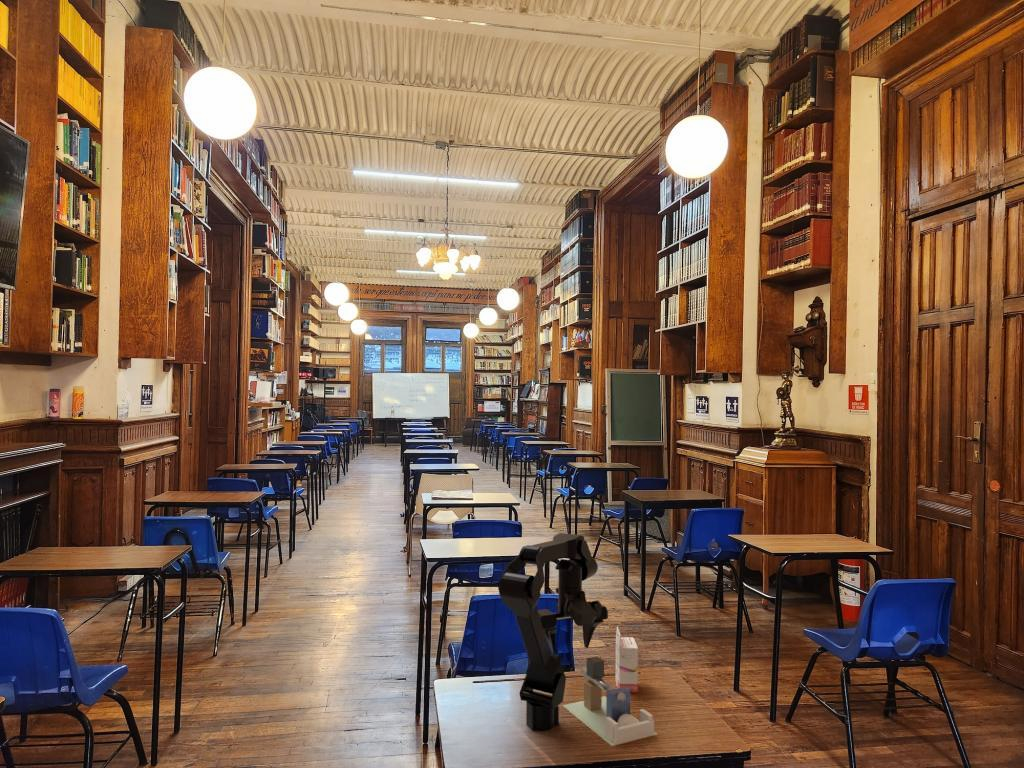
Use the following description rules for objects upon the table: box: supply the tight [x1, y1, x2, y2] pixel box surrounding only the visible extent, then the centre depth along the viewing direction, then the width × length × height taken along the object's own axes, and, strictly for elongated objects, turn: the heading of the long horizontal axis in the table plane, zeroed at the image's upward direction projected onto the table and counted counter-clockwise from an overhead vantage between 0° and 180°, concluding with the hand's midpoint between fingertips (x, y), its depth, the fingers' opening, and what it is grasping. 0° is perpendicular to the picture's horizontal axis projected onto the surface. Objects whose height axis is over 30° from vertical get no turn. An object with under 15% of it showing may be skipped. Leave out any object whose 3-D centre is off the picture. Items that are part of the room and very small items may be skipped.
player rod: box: [580, 656, 631, 723], centre depth 154 cm, size 5×16×11 cm, turn 25°
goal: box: [605, 708, 655, 746], centre depth 144 cm, size 10×4×4 cm, turn 115°
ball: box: [618, 714, 636, 727], centre depth 145 cm, size 4×4×4 cm
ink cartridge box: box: [614, 625, 639, 693], centre depth 171 cm, size 9×5×15 cm, turn 178°
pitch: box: [562, 680, 659, 747], centre depth 152 cm, size 12×21×7 cm, turn 25°
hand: (570, 650), depth 162 cm, fingers open, 9 cm apart
